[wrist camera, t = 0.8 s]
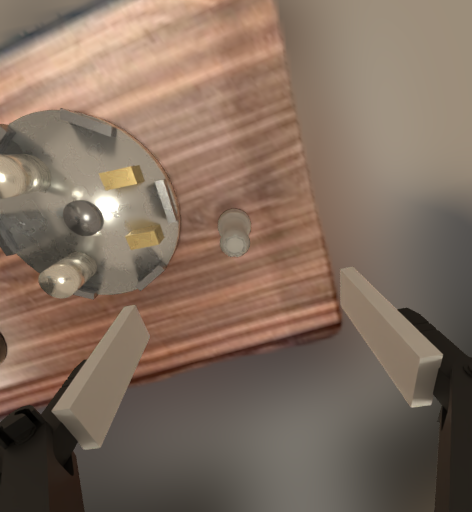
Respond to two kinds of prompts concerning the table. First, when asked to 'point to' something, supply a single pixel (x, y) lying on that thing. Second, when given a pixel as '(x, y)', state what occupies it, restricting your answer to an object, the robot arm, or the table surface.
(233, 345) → the table surface
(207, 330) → the table surface
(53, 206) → the carrier plate
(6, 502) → the robot arm
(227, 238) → the rook chess piece
